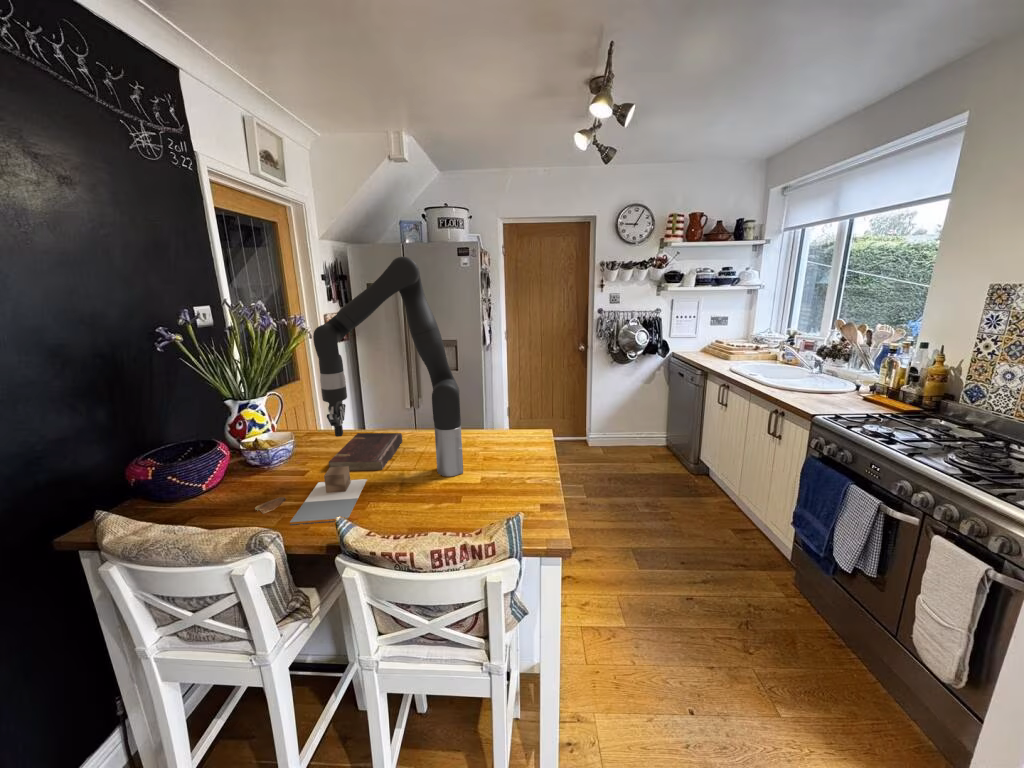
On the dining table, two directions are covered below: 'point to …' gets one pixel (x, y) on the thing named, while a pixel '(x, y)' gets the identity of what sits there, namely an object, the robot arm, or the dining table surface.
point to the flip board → (329, 503)
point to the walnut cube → (337, 479)
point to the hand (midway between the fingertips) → (339, 435)
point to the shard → (270, 505)
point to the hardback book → (367, 451)
